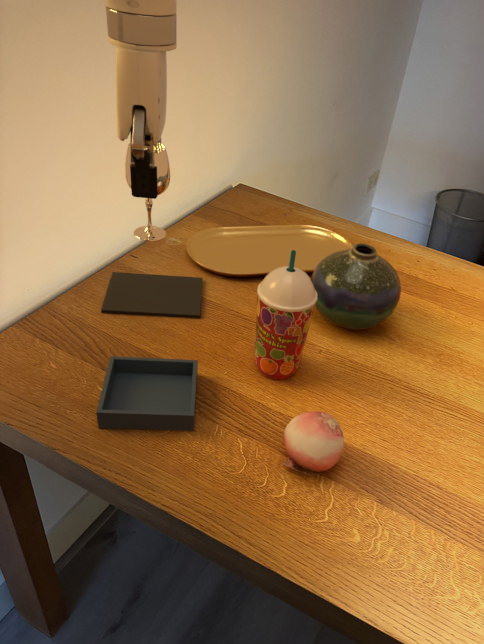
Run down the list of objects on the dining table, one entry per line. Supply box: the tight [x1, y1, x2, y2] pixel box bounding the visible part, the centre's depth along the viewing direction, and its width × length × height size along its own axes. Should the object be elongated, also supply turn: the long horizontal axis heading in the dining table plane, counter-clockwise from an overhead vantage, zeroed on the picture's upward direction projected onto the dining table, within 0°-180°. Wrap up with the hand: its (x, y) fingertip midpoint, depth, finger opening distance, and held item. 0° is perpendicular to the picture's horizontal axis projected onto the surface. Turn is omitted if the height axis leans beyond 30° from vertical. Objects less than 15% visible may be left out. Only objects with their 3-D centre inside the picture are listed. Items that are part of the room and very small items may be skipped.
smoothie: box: [254, 250, 317, 380], centre depth 77 cm, size 8×8×20 cm
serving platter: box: [185, 224, 354, 278], centre depth 110 cm, size 19×35×2 cm, turn 108°
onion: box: [282, 410, 345, 477], centre depth 68 cm, size 8×8×7 cm
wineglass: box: [124, 142, 171, 242], centre depth 73 cm, size 6×6×12 cm
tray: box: [96, 355, 199, 432], centre depth 74 cm, size 12×11×3 cm
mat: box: [100, 271, 204, 319], centre depth 94 cm, size 16×12×1 cm
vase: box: [310, 243, 402, 331], centre depth 93 cm, size 15×15×13 cm
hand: (148, 185), depth 72 cm, fingers closed on wineglass, 5 cm apart
